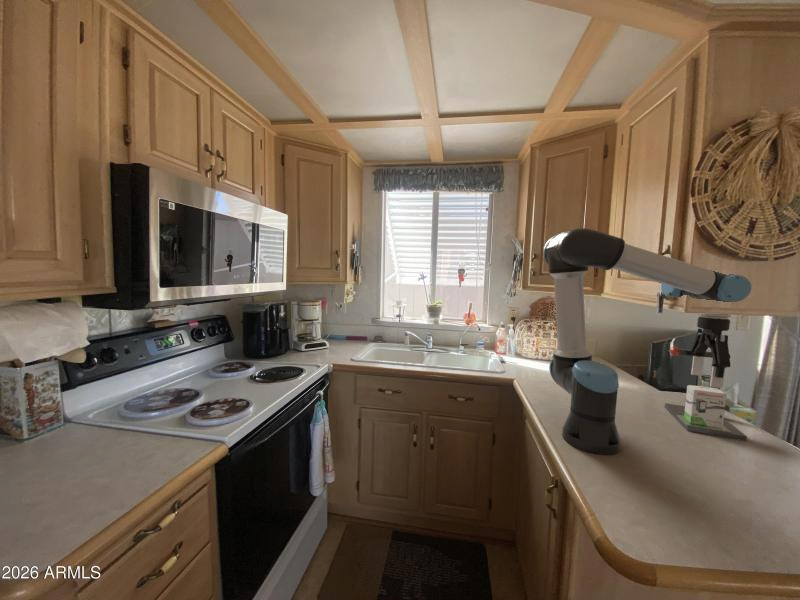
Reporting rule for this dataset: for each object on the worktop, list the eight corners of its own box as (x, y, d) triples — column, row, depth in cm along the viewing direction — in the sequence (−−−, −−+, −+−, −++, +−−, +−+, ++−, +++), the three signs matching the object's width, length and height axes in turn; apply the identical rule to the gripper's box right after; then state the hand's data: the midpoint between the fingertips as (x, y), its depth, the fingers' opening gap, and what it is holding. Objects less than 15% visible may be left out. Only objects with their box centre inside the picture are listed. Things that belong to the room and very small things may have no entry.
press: (746, 441, 99) (755, 362, 97) (687, 430, 105) (694, 356, 103) (712, 414, 119) (720, 347, 116) (664, 406, 124) (670, 343, 122)
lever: (730, 362, 111) (731, 352, 111) (670, 356, 118) (671, 346, 117) (725, 360, 114) (726, 350, 114) (667, 354, 121) (668, 345, 120)
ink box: (690, 423, 106) (693, 389, 105) (683, 417, 111) (686, 384, 110) (723, 428, 103) (727, 393, 102) (714, 422, 108) (718, 388, 107)
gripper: (753, 323, 91) (742, 395, 93) (710, 314, 114) (702, 372, 116) (718, 320, 94) (709, 390, 96) (683, 312, 117) (676, 368, 119)
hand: (705, 380), depth 106 cm, fingers open, 13 cm apart
